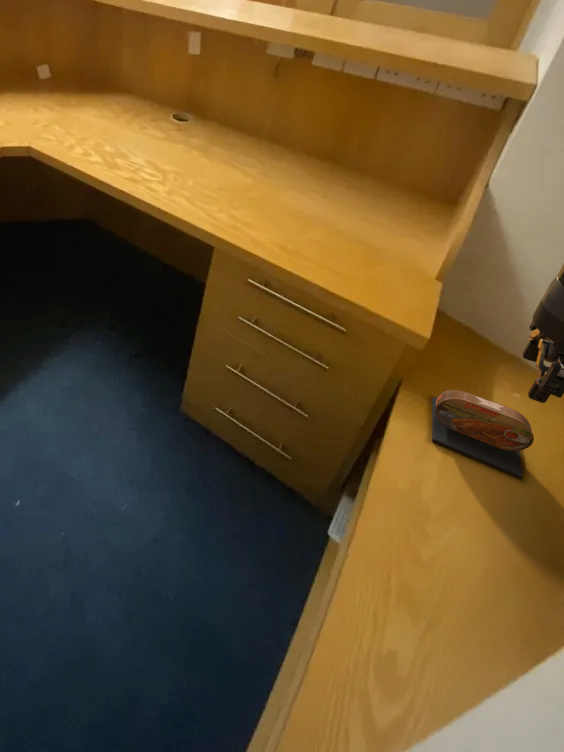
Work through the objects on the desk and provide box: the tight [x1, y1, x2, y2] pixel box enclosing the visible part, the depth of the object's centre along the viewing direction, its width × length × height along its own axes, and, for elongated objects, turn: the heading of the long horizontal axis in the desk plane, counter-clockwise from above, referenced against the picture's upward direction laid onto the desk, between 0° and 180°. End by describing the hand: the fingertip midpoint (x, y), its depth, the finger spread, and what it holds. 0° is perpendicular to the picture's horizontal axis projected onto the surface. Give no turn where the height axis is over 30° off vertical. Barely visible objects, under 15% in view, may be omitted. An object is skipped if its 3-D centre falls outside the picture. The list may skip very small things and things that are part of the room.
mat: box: [431, 396, 523, 479], centre depth 97 cm, size 14×10×1 cm
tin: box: [435, 389, 535, 452], centre depth 95 cm, size 15×3×8 cm, turn 61°
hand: (532, 378), depth 84 cm, fingers open, 8 cm apart
